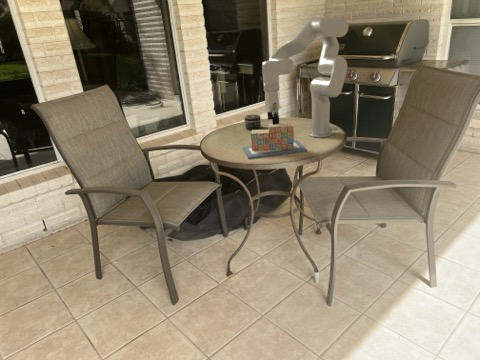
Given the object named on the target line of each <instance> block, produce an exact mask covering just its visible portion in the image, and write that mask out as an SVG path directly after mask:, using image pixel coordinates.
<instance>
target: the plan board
mask: <svg viewBox="0 0 480 360" xmlns="http://www.w3.org/2000/svg"><path fill="white" fill-rule="evenodd" d="M242 150H243V152H244V153H245V155H246V157H247V159H248V160H251V159H252V160H253V159H256V158H257V159H258V158H265V156H267V157H272V155H274V156H280V154H281V155H288V153H289V154H294V153H301V152H307V150H308V148H307V147H305V146H304V145H303V144H302V143H301V142H300V141H299V140H297V139H294V149H293V150H252V145H249V146H242Z"/></svg>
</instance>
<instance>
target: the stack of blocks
mask: <svg viewBox="0 0 480 360" xmlns="http://www.w3.org/2000/svg"><path fill="white" fill-rule="evenodd" d="M250 132H251V133H250V137H251V146H252V150H293V149H294V140H295V135H294V134H295V132H294V122H281V123H280V122H279V124H275V125H273V123H268V129H257V130H251V131H250Z"/></svg>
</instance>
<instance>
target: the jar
mask: <svg viewBox="0 0 480 360" xmlns="http://www.w3.org/2000/svg"><path fill="white" fill-rule="evenodd" d="M261 119H262V117H261V115H259V114H247V115H245V116H244V127H245V129H246V130H247V131H252V130H261V127H262V126H261V125H262V123H261Z"/></svg>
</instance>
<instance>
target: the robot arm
mask: <svg viewBox="0 0 480 360" xmlns="http://www.w3.org/2000/svg"><path fill="white" fill-rule="evenodd" d="M348 31H349V23H348V21H347V20H346V19H345V18H339V17H338V18H337V17H336V18H335V17H334V18H333V17H314V18H313V17H312V18H310V19H307V21H306V22H305V23H304V25H303V26H302V27H301V28H300V29H299V30H298V31H297V33H296V34H295V35H294V37H293V38H292V39H290V40H288V41H287V42H286V43H284V44H283V45H281V46H280V47H278V49H276V50H275V52H274V53H273V54H272V55H271V57H269V59H268V60H264V61H262V63H261V67H262V69H261V70H262V83H263V84H262V85H263V92H264V104H265V105H264V107H265V110H266V112H267V120H268V121H269V120H272V121H271V122H272V124H273V125H275V124H279V123H280V115H279V111H280V103H279V91H280V80H279V76H280V75H283V76H284V75H289V74H292V72H293V71H294V70H295V63H294V61H293V60H292V59H291V57H294V56H296V55H299V54H302V53H304V52H306V51H307V50H308V49H309V47H310V46H311V45H312V43H313V42H314V41H315V39H316V38H318V37H320V39H321V42H322V49H321V53H320V57H319V60H318V64H317V72H318V73H319V74H321V75H324V76H330V77H324V76H318V77H315V78H313V79H312V80H311V81H310V84H309V91H310V95H311V130H310V131H309V134H308V135H309V136H310V137H312V138H319V139H320V138H329V137H331V136H332V135H333V131H338V130H339V128H338V126H334V125H332V126H331V125H330V110H331V108H330V107H331V106H330V105H331V103H330V99H329V98H337V97H338V96H339V95H340V94H341V92H342V90H343V87H344V83H345V79H346V76H347V71H348V62H347V60H346V59H345V58H344V57H342V56H338V54H339V49H340V45H339V44H340V43H339V41H338V39H337V38H342V37H345V36H346V34H348Z"/></svg>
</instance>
